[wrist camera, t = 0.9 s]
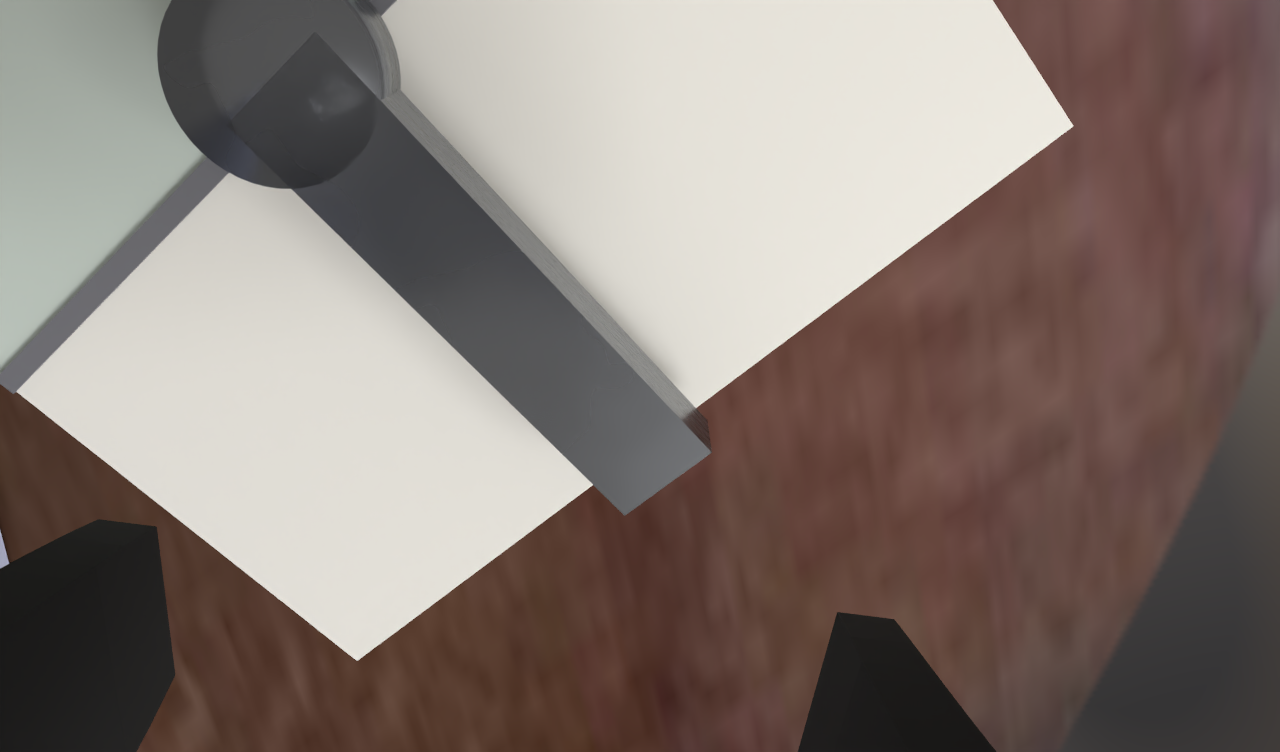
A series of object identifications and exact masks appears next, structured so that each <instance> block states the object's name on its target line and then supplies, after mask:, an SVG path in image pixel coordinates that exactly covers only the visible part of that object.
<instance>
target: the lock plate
mask: <svg viewBox="0 0 1280 752" xmlns="http://www.w3.org/2000/svg"><path fill="white" fill-rule="evenodd" d="M369 1H370V2H371V3H372V5H373V6H374V7H375V8H376V10H377V11H378V13H379V14H380V16H381V17H382V19H383V20H384V22H385V24H386V26H387V28H388V30H389V32H390V34H391V36H392V39H393V42H394V45H395V48H396V51H397V55H398V60H399V64H400V75H401V91H402V92H403V93H404V94H405V95H406V96H407V97H408V98H409V100H410V101H411V102H412V103H413V104H414V105H415V106H416V107H417V108H418V109H419V110H420V111H421V112H422V114H423V115H424V116H425V117H426V118H427V119H428V120H429V121H430V122H431V123H432V124H433V125H434V126H435V128H436V129H437V130H438V131H439V132H440V133H441V134H442V135H443V136H444V137H445V138H446V139H447V140H448V142H449V143H450V144H451V145H452V146H453V147H454V148H455V149H456V150H457V151H458V152H459V153H460V154H461V156H462V157H463V158H464V159H465V160H466V161H467V162H468V163H469V164H470V165H471V166H472V167H473V168H474V170H475V171H476V172H477V173H478V174H479V175H480V176H481V177H482V178H483V179H484V180H485V181H486V182H487V184H488V185H489V186H490V187H491V188H492V189H493V190H494V191H495V192H496V193H497V194H498V195H499V196H500V198H501V199H502V200H503V201H504V202H505V203H506V204H507V205H508V206H509V207H510V208H511V209H512V211H513V212H514V213H515V214H516V215H517V216H518V217H519V218H520V219H521V220H522V221H523V222H524V223H525V225H526V226H527V227H528V228H529V229H530V230H531V231H532V232H533V233H534V234H535V235H536V236H537V237H538V239H539V240H540V241H541V242H542V243H543V244H544V245H545V246H546V247H547V248H548V249H549V250H550V251H551V253H552V254H553V255H554V256H555V257H556V258H557V259H558V260H559V261H560V262H561V263H562V264H563V265H564V267H565V268H566V269H567V270H568V271H569V272H570V273H571V274H572V275H573V276H574V277H575V278H576V279H577V281H578V282H579V283H580V284H581V285H582V286H583V287H584V288H585V289H586V290H587V291H588V292H589V293H590V295H591V296H592V297H593V298H594V299H595V300H596V301H597V302H598V303H599V304H600V305H601V306H602V307H603V309H604V310H605V311H606V312H607V313H608V314H609V315H610V316H611V317H612V318H613V319H614V320H615V321H616V323H617V324H618V325H619V326H620V327H621V328H622V329H623V330H624V331H625V332H626V333H627V334H628V335H629V337H630V338H631V339H632V340H633V341H634V342H635V343H636V344H637V345H638V346H639V347H640V348H641V350H642V351H643V352H644V353H645V354H646V355H647V356H648V357H649V358H650V359H651V360H652V361H653V362H654V364H655V365H656V366H657V367H658V368H659V369H660V370H661V371H662V372H663V373H664V374H665V375H666V376H667V378H668V379H669V380H670V381H671V382H672V383H673V384H674V385H675V386H676V387H677V388H678V389H679V390H680V392H681V393H682V394H683V395H684V396H685V397H686V398H687V399H688V400H689V401H690V402H691V403H692V404H693V406H694V407H695V408H697V407H698V406H699V405H701V404H702V403H703V402H705V401H706V400H707V399H709V398H710V397H711V396H713V395H714V394H715V393H717V392H718V391H719V390H721V389H722V388H723V387H725V386H726V385H727V384H729V383H730V382H731V381H733V380H734V379H735V378H737V377H738V376H739V375H741V374H742V373H743V372H745V371H746V370H747V369H749V368H750V367H752V366H753V365H754V364H756V363H757V362H758V361H760V360H761V359H762V358H764V357H765V356H766V355H768V354H769V353H770V352H772V351H773V350H774V349H776V348H777V347H778V346H780V345H781V344H782V343H784V342H785V341H786V340H788V339H789V338H790V337H792V336H793V335H794V334H796V333H797V332H798V331H800V330H801V329H802V328H804V327H805V326H806V325H808V324H809V323H810V322H812V321H813V320H814V319H816V318H817V317H818V316H820V315H821V314H823V313H824V312H825V311H827V310H828V309H829V308H831V307H832V306H833V305H835V304H836V303H837V302H839V301H840V300H841V299H843V298H844V297H845V296H847V295H848V294H849V293H851V292H852V291H853V290H855V289H856V288H857V287H859V286H860V285H861V284H863V283H864V282H865V281H867V280H868V279H869V278H871V277H872V276H873V275H875V274H876V273H877V272H879V271H880V270H881V269H883V268H884V267H885V266H887V265H888V264H889V263H891V262H892V261H893V260H895V259H896V258H898V257H899V256H900V255H902V254H903V253H904V252H906V251H907V250H908V249H910V248H911V247H912V246H914V245H915V244H916V243H918V242H919V241H920V240H922V239H923V238H924V237H926V236H927V235H928V234H930V233H931V232H932V231H934V230H935V229H936V228H938V227H939V226H940V225H942V224H943V223H944V222H946V221H947V220H948V219H950V218H951V217H952V216H954V215H955V214H956V213H958V212H959V211H960V210H962V209H963V208H964V207H966V206H967V205H969V204H970V203H971V202H973V201H974V200H975V199H977V198H978V197H979V196H981V195H982V194H983V193H985V192H986V191H987V190H989V189H990V188H991V187H993V186H994V185H995V184H997V183H998V182H999V181H1001V180H1002V179H1003V178H1005V177H1006V176H1007V175H1009V174H1010V173H1011V172H1013V171H1014V170H1015V169H1017V168H1018V167H1019V166H1021V165H1022V164H1023V163H1025V162H1026V161H1027V160H1029V159H1030V158H1031V157H1033V156H1034V155H1035V154H1037V153H1038V152H1040V151H1041V150H1042V149H1044V148H1045V147H1046V146H1048V145H1049V144H1050V143H1052V142H1053V141H1054V140H1056V139H1057V138H1058V137H1060V136H1061V135H1062V134H1064V133H1065V132H1066V131H1068V130H1069V129H1070V128H1072V127H1073V125H1072V123H1071V122H1070V120H1069V118H1068V117H1067V115H1066V114H1065V112H1064V111H1063V109H1062V108H1061V106H1060V104H1059V103H1058V101H1057V100H1056V98H1055V97H1054V95H1053V93H1052V92H1051V90H1050V89H1049V87H1048V86H1047V84H1046V83H1045V81H1044V79H1043V78H1042V76H1041V75H1040V73H1039V72H1038V70H1037V69H1036V67H1035V65H1034V64H1033V62H1032V61H1031V59H1030V58H1029V56H1028V55H1027V53H1026V51H1025V50H1024V48H1023V47H1022V45H1021V44H1020V42H1019V41H1018V39H1017V37H1016V36H1015V34H1014V33H1013V31H1012V30H1011V28H1010V27H1009V25H1008V23H1007V22H1006V20H1005V19H1004V17H1003V16H1002V14H1001V13H1000V11H999V9H998V8H997V6H996V5H995V3H994V2H993V0H369ZM170 2H171V0H0V384H1V385H3V386H4V387H5V388H6V389H8V390H9V391H10V392H11V393H15V392H18V393H19V394H20V395H21V396H23V397H24V398H25V399H26V400H28V401H29V402H30V403H31V404H33V405H34V406H35V407H37V408H38V409H39V410H40V411H42V412H43V413H44V414H45V415H47V416H48V417H49V418H50V419H52V420H53V421H54V422H56V423H57V424H58V425H59V426H61V427H62V428H63V429H64V430H66V431H67V432H68V433H69V434H71V435H72V436H73V437H74V438H76V439H77V440H78V441H80V442H81V443H82V444H83V445H85V446H86V447H87V448H88V449H90V450H91V451H92V452H93V453H95V454H96V455H97V456H99V457H100V458H101V459H102V460H104V461H105V462H106V463H107V464H109V465H110V466H111V467H112V468H114V469H115V470H116V471H118V472H119V473H120V474H121V475H123V476H124V477H125V478H126V479H128V480H129V481H130V482H131V483H133V484H134V485H135V486H136V487H138V488H139V489H140V490H142V491H143V492H144V493H145V494H147V495H148V496H149V497H150V498H152V499H153V500H154V501H155V502H157V503H158V504H159V505H161V506H162V507H163V508H164V509H166V510H167V511H168V512H169V513H171V514H172V515H173V516H174V517H176V518H177V519H178V520H180V521H181V522H182V523H183V524H185V525H186V526H187V527H188V528H190V529H191V530H192V531H193V532H195V533H196V534H197V535H198V536H200V537H201V538H202V539H204V540H205V541H206V542H207V543H209V544H210V545H211V546H212V547H214V548H215V549H216V550H217V551H219V552H220V553H221V554H223V555H224V556H225V557H226V558H228V559H229V560H230V561H231V562H233V563H234V564H235V565H236V566H238V567H239V568H240V569H241V570H243V571H244V572H245V573H247V574H248V575H249V576H250V577H252V578H253V579H254V580H255V581H257V582H258V583H259V584H260V585H262V586H263V587H264V588H266V589H267V590H268V591H269V592H271V593H272V594H273V595H274V596H276V597H277V598H278V599H279V600H281V601H282V602H283V603H285V604H286V605H287V606H288V607H290V608H291V609H292V610H293V611H295V612H296V613H297V614H298V615H300V616H301V617H302V618H303V619H305V620H306V621H307V622H309V623H310V624H311V625H312V626H314V627H315V628H316V629H317V630H319V631H320V632H321V633H322V634H324V635H325V636H326V637H328V638H329V639H330V640H331V641H333V642H334V643H335V644H336V645H338V646H339V647H340V648H341V649H343V650H344V651H345V652H347V653H348V654H349V655H350V656H352V657H353V658H354V659H355V660H357V661H358V660H359V659H360V658H362V657H363V656H364V655H366V654H367V653H368V652H370V651H371V650H372V649H374V648H375V647H376V646H378V645H379V644H380V643H382V642H383V641H384V640H386V639H387V638H388V637H390V636H391V635H392V634H394V633H395V632H397V631H398V630H399V629H401V628H402V627H403V626H405V625H406V624H407V623H409V622H410V621H411V620H413V619H414V618H415V617H417V616H418V615H419V614H421V613H422V612H423V611H425V610H426V609H427V608H429V607H430V606H431V605H433V604H434V603H435V602H437V601H438V600H439V599H441V598H442V597H443V596H445V595H446V594H447V593H449V592H450V591H451V590H453V589H454V588H455V587H457V586H458V585H459V584H461V583H462V582H463V581H465V580H466V579H468V578H469V577H470V576H472V575H473V574H474V573H476V572H477V571H478V570H480V569H481V568H482V567H484V566H485V565H486V564H488V563H489V562H490V561H492V560H493V559H494V558H496V557H497V556H498V555H500V554H501V553H502V552H504V551H505V550H506V549H508V548H509V547H510V546H512V545H513V544H514V543H516V542H517V541H518V540H520V539H521V538H522V537H524V536H525V535H526V534H528V533H529V532H530V531H532V530H533V529H534V528H536V527H537V526H539V525H540V524H541V523H543V522H544V521H545V520H547V519H548V518H549V517H551V516H552V515H553V514H555V513H556V512H557V511H559V510H560V509H561V508H563V507H564V506H565V505H567V504H568V503H569V502H571V501H572V500H573V499H575V498H576V497H577V496H579V495H580V494H581V493H583V492H584V491H585V490H587V489H588V488H589V487H591V486H592V485H593V484H592V483H591V482H590V481H589V480H588V479H587V478H586V477H585V476H584V475H583V474H582V473H581V472H580V471H579V470H578V469H577V468H576V467H575V466H574V465H573V464H571V463H570V462H569V461H568V460H567V459H566V458H565V457H564V456H563V455H562V454H561V453H560V452H559V451H558V450H557V449H556V448H555V447H554V446H553V445H552V444H551V443H550V442H549V441H548V440H547V439H546V438H545V437H544V436H543V435H542V434H541V433H540V432H539V431H538V430H537V429H536V428H535V427H534V426H533V425H532V424H531V423H530V422H529V421H528V420H527V419H526V418H525V417H524V416H522V415H521V414H520V413H519V412H518V411H517V410H516V409H515V408H514V407H513V406H512V405H511V404H510V403H509V402H508V401H507V400H506V399H505V398H504V397H503V396H502V395H501V394H500V393H499V392H498V391H497V390H496V389H495V388H494V387H493V386H492V385H491V384H490V383H489V382H488V381H487V380H486V379H485V378H484V377H483V376H482V375H481V374H480V373H479V372H478V371H477V370H476V369H475V368H474V367H472V366H471V365H470V364H469V363H468V362H467V361H466V360H465V359H464V358H463V357H462V356H461V355H460V354H459V353H458V352H457V351H456V350H455V349H454V348H453V347H452V346H451V345H450V344H449V343H448V342H447V341H446V340H445V339H444V338H443V337H442V336H441V335H440V334H439V333H438V332H437V331H436V330H435V329H434V328H433V327H432V326H431V325H430V324H429V323H428V322H427V321H426V320H425V319H423V318H422V317H421V316H420V315H419V314H418V313H417V312H416V311H415V310H414V309H413V308H412V307H411V306H410V305H409V304H408V303H407V302H406V301H405V300H404V299H403V298H402V297H401V296H400V295H399V294H398V293H397V292H396V291H395V290H394V289H393V288H392V287H391V286H390V285H389V284H388V283H387V282H386V281H385V280H384V279H383V278H382V277H381V276H380V275H379V274H378V273H377V272H376V271H374V270H373V269H372V268H371V267H370V266H369V265H368V264H367V263H366V262H365V261H364V260H363V259H362V258H361V257H360V256H359V255H358V254H357V253H356V252H355V251H354V250H353V249H352V248H351V247H350V246H349V245H348V244H347V243H346V242H345V241H344V240H343V239H342V238H341V237H340V236H339V235H338V234H337V233H336V232H335V231H334V230H333V229H332V228H331V227H330V226H329V225H328V224H327V223H326V222H324V221H323V220H322V219H321V218H320V217H319V216H318V215H317V214H316V213H315V212H314V211H313V210H312V209H311V208H310V207H309V206H308V205H307V204H306V203H305V202H304V201H303V200H302V199H301V198H300V197H299V196H298V195H297V194H296V193H295V192H294V191H293V190H292V189H279V188H271V187H265V186H261V185H258V184H254V183H251V182H248V181H246V180H243V179H241V178H238V177H236V176H234V175H233V174H231V173H229V172H227V171H225V170H224V169H222V168H221V167H219V166H218V165H216V164H215V163H213V162H212V161H211V160H210V159H209V158H207V157H206V156H205V155H204V154H203V153H202V152H201V151H200V150H199V149H198V148H197V147H196V146H195V145H194V144H193V143H192V142H191V141H190V140H189V138H188V137H187V136H186V134H185V133H184V132H183V130H182V129H181V128H180V126H179V124H178V123H177V121H176V119H175V118H174V116H173V114H172V112H171V110H170V108H169V105H168V103H167V101H166V98H165V95H164V92H163V89H162V86H161V82H160V77H159V72H158V61H157V47H158V37H159V32H160V26H161V23H162V20H163V17H164V15H165V12H166V10H167V8H168V6H169V4H170Z"/></svg>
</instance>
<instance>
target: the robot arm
mask: <svg viewBox="0 0 1280 752" xmlns="http://www.w3.org/2000/svg"><path fill="white" fill-rule="evenodd" d="M174 676H175V669H174V662H173V654H172V646H171V638H170V630H169V622H168V614H167V606H166V598H165V590H164V582H163V574H162V566H161V558H160V550H159V542H158V534H157V527H155V526H147V525H139V524H131V523H123V522H115V521H107V520H99V519H98V520H96V521H94V522H92V523H89V524H87V525H85V526H83V527H81V528H78V529H76V530H74V531H72V532H70V533H68V534H66V535H64V536H62V537H60V538H58V539H56V540H54V541H52V542H50V543H48V544H46V545H44V546H42V547H40V548H38V549H36V550H34V551H33V552H31V553H29V554H27V555H25V556H23V557H21V558H19V559H17V560H15V561H13V562H11V563H10V564H9V561H8V558H7V554H6V550H5V546H4V542H3V539H2V535H1V531H0V752H136V751H137V750H138V748H139V746H140V744H141V742H142V740H143V738H144V736H145V735H146V733H147V731H148V729H149V727H150V725H151V723H152V721H153V719H154V717H155V715H156V713H157V711H158V709H159V707H160V705H161V703H162V701H163V699H164V697H165V695H166V693H167V691H168V689H169V687H170V684H171V682H172V680H173V678H174ZM798 752H996V751H995V749H994V748H993V747H992V746H991V744H990V743H989V742H988V741H987V739H986V738H985V737H984V736H983V734H982V733H981V732H980V731H979V729H978V728H977V727H976V725H975V724H974V723H973V722H972V720H971V719H970V718H969V716H968V715H967V714H966V713H965V711H964V710H963V709H962V707H961V706H960V705H959V703H958V702H957V701H956V700H955V698H954V697H953V696H952V694H951V693H950V692H949V691H948V689H947V688H946V687H945V685H944V684H943V683H942V681H941V680H940V679H939V677H938V676H937V675H936V673H935V672H934V671H933V669H932V668H931V667H930V665H929V664H928V663H927V661H926V660H925V659H924V658H923V656H922V655H921V654H920V652H919V651H918V650H917V648H916V647H915V646H914V644H913V643H912V642H911V640H910V639H909V638H908V636H907V635H906V634H905V633H904V631H903V630H902V629H901V627H900V626H899V625H898V624H897V622H896V621H895V620H894V619H887V618H879V617H871V616H863V615H856V614H848V613H840V612H837V615H836V619H835V623H834V626H833V630H832V633H831V637H830V640H829V644H828V647H827V651H826V654H825V658H824V661H823V665H822V668H821V672H820V676H819V679H818V683H817V686H816V690H815V693H814V697H813V700H812V704H811V707H810V711H809V714H808V718H807V722H806V725H805V729H804V732H803V736H802V739H801V743H800V746H799V750H798Z"/></svg>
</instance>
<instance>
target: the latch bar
mask: <svg viewBox="0 0 1280 752" xmlns="http://www.w3.org/2000/svg"><path fill="white" fill-rule="evenodd" d="M157 61H158V72H159V77H160V82H161V86H162V89H163V92H164V95H165V98H166V101H167V103H168V105H169V108H170V110H171V112H172V114H173V116H174V118H175V119H176V121H177V123H178V124H179V126H180V128H181V129H182V130H183V132H184V133H185V134H186V136H187V137H188V138H189V140H190V141H191V142H192V143H193V144H194V145H195V146H196V147H197V148H198V149H199V150H200V151H201V152H202V153H203V154H204V155H205V156H206V157H207V158H209V159H210V160H211V161H212V162H213V163H215V164H216V165H218V166H219V167H221V168H222V169H224V170H225V171H227V172H229V173H231V174H233V175H234V176H236V177H238V178H241V179H243V180H246V181H248V182H251V183H254V184H258V185H261V186H265V187H271V188H279V189H292V190H293V191H294V192H295V193H296V194H297V195H298V196H299V197H300V198H301V199H302V200H303V201H304V202H305V203H306V204H307V205H308V206H309V207H310V208H311V209H312V210H313V211H314V212H315V213H316V214H317V215H318V216H319V217H320V218H321V219H322V220H323V221H324V222H326V223H327V224H328V225H329V226H330V227H331V228H332V229H333V230H334V231H335V232H336V233H337V234H338V235H339V236H340V237H341V238H342V239H343V240H344V241H345V242H346V243H347V244H348V245H349V246H350V247H351V248H352V249H353V250H354V251H355V252H356V253H357V254H358V255H359V256H360V257H361V258H362V259H363V260H364V261H365V262H366V263H367V264H368V265H369V266H370V267H371V268H372V269H373V270H374V271H376V272H377V273H378V274H379V275H380V276H381V277H382V278H383V279H384V280H385V281H386V282H387V283H388V284H389V285H390V286H391V287H392V288H393V289H394V290H395V291H396V292H397V293H398V294H399V295H400V296H401V297H402V298H403V299H404V300H405V301H406V302H407V303H408V304H409V305H410V306H411V307H412V308H413V309H414V310H415V311H416V312H417V313H418V314H419V315H420V316H421V317H422V318H423V319H425V320H426V321H427V322H428V323H429V324H430V325H431V326H432V327H433V328H434V329H435V330H436V331H437V332H438V333H439V334H440V335H441V336H442V337H443V338H444V339H445V340H446V341H447V342H448V343H449V344H450V345H451V346H452V347H453V348H454V349H455V350H456V351H457V352H458V353H459V354H460V355H461V356H462V357H463V358H464V359H465V360H466V361H467V362H468V363H469V364H470V365H471V366H472V367H474V368H475V369H476V370H477V371H478V372H479V373H480V374H481V375H482V376H483V377H484V378H485V379H486V380H487V381H488V382H489V383H490V384H491V385H492V386H493V387H494V388H495V389H496V390H497V391H498V392H499V393H500V394H501V395H502V396H503V397H504V398H505V399H506V400H507V401H508V402H509V403H510V404H511V405H512V406H513V407H514V408H515V409H516V410H517V411H518V412H519V413H520V414H521V415H522V416H524V417H525V418H526V419H527V420H528V421H529V422H530V423H531V424H532V425H533V426H534V427H535V428H536V429H537V430H538V431H539V432H540V433H541V434H542V435H543V436H544V437H545V438H546V439H547V440H548V441H549V442H550V443H551V444H552V445H553V446H554V447H555V448H556V449H557V450H558V451H559V452H560V453H561V454H562V455H563V456H564V457H565V458H566V459H567V460H568V461H569V462H570V463H571V464H573V465H574V466H575V467H576V468H577V469H578V470H579V471H580V472H581V473H582V474H583V475H584V476H585V477H586V478H587V479H588V480H589V481H590V482H591V483H592V484H593V485H594V486H595V487H596V488H597V489H598V490H599V491H600V492H601V493H602V494H603V495H604V496H605V497H606V498H607V499H608V500H609V501H610V502H611V503H612V504H613V505H614V506H615V507H616V508H617V509H618V510H619V511H620V512H622V513H623V514H624V515H626V514H628V513H629V512H630V511H632V510H633V509H634V508H636V507H637V506H639V505H640V504H641V503H643V502H644V501H645V500H647V499H648V498H650V497H651V496H652V495H654V494H655V493H657V492H658V491H659V490H661V489H662V488H663V487H665V486H666V485H668V484H669V483H670V482H672V481H673V480H674V479H676V478H677V477H679V476H680V475H681V474H683V473H684V472H685V471H687V470H688V469H690V468H691V467H692V466H694V465H695V464H697V463H698V462H699V461H701V460H702V459H703V458H705V457H706V456H708V455H709V454H710V453H712V451H711V444H710V436H709V429H708V421H707V420H706V418H705V417H704V416H703V415H702V414H701V413H700V412H699V411H698V410H697V409H696V408H695V407H694V406H693V404H692V403H691V402H690V401H689V400H688V399H687V398H686V397H685V396H684V395H683V394H682V393H681V392H680V390H679V389H678V388H677V387H676V386H675V385H674V384H673V383H672V382H671V381H670V380H669V379H668V378H667V376H666V375H665V374H664V373H663V372H662V371H661V370H660V369H659V368H658V367H657V366H656V365H655V364H654V362H653V361H652V360H651V359H650V358H649V357H648V356H647V355H646V354H645V353H644V352H643V351H642V350H641V348H640V347H639V346H638V345H637V344H636V343H635V342H634V341H633V340H632V339H631V338H630V337H629V335H628V334H627V333H626V332H625V331H624V330H623V329H622V328H621V327H620V326H619V325H618V324H617V323H616V321H615V320H614V319H613V318H612V317H611V316H610V315H609V314H608V313H607V312H606V311H605V310H604V309H603V307H602V306H601V305H600V304H599V303H598V302H597V301H596V300H595V299H594V298H593V297H592V296H591V295H590V293H589V292H588V291H587V290H586V289H585V288H584V287H583V286H582V285H581V284H580V283H579V282H578V281H577V279H576V278H575V277H574V276H573V275H572V274H571V273H570V272H569V271H568V270H567V269H566V268H565V267H564V265H563V264H562V263H561V262H560V261H559V260H558V259H557V258H556V257H555V256H554V255H553V254H552V253H551V251H550V250H549V249H548V248H547V247H546V246H545V245H544V244H543V243H542V242H541V241H540V240H539V239H538V237H537V236H536V235H535V234H534V233H533V232H532V231H531V230H530V229H529V228H528V227H527V226H526V225H525V223H524V222H523V221H522V220H521V219H520V218H519V217H518V216H517V215H516V214H515V213H514V212H513V211H512V209H511V208H510V207H509V206H508V205H507V204H506V203H505V202H504V201H503V200H502V199H501V198H500V196H499V195H498V194H497V193H496V192H495V191H494V190H493V189H492V188H491V187H490V186H489V185H488V184H487V182H486V181H485V180H484V179H483V178H482V177H481V176H480V175H479V174H478V173H477V172H476V171H475V170H474V168H473V167H472V166H471V165H470V164H469V163H468V162H467V161H466V160H465V159H464V158H463V157H462V156H461V154H460V153H459V152H458V151H457V150H456V149H455V148H454V147H453V146H452V145H451V144H450V143H449V142H448V140H447V139H446V138H445V137H444V136H443V135H442V134H441V133H440V132H439V131H438V130H437V129H436V128H435V126H434V125H433V124H432V123H431V122H430V121H429V120H428V119H427V118H426V117H425V116H424V115H423V114H422V112H421V111H420V110H419V109H418V108H417V107H416V106H415V105H414V104H413V103H412V102H411V101H410V100H409V98H408V97H407V96H406V95H405V94H404V93H403V92H402V91H401V75H400V64H399V60H398V55H397V51H396V48H395V45H394V42H393V39H392V36H391V34H390V32H389V30H388V28H387V26H386V24H385V22H384V20H383V19H382V17H381V16H380V14H379V13H378V11H377V10H376V8H375V7H374V6H373V5H372V3H371V2H370V1H369V0H171V2H170V4H169V6H168V8H167V10H166V12H165V15H164V17H163V20H162V23H161V26H160V32H159V37H158V47H157Z"/></svg>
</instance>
